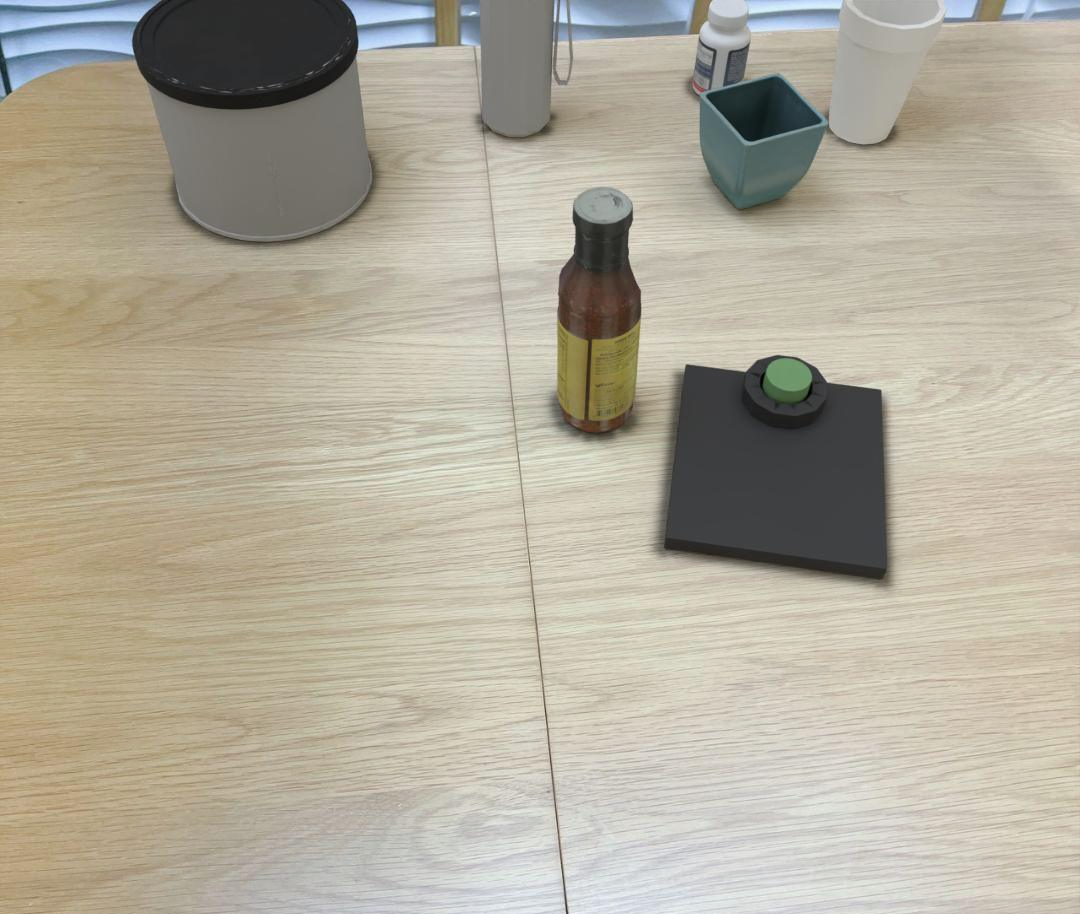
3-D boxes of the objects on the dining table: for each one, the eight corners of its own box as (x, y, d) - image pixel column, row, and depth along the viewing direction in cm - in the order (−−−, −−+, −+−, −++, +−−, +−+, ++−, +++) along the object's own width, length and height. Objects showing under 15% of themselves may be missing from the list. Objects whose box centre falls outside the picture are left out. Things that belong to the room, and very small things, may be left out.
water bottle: (471, 137, 110) (463, -132, 90) (490, 94, 115) (487, -172, 94) (560, 151, 109) (572, -118, 89) (576, 107, 114) (591, -158, 93)
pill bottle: (743, 77, 118) (758, -4, 110) (739, 105, 114) (755, 23, 107) (693, 72, 118) (705, -10, 111) (689, 99, 115) (701, 17, 108)
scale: (876, 394, 90) (886, 368, 88) (882, 579, 80) (894, 556, 77) (684, 369, 92) (688, 343, 89) (663, 548, 81) (668, 524, 78)
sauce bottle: (641, 390, 90) (669, 186, 74) (621, 445, 87) (646, 243, 70) (565, 372, 91) (577, 167, 75) (542, 425, 88) (549, 222, 72)
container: (237, 271, 98) (198, 120, 85) (140, 167, 106) (93, 16, 94) (412, 192, 105) (399, 43, 92) (308, 101, 113) (284, -47, 101)
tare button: (808, 375, 88) (812, 361, 87) (807, 407, 86) (811, 393, 85) (763, 369, 88) (767, 355, 87) (761, 401, 86) (765, 387, 85)
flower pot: (729, 228, 103) (746, 144, 95) (684, 175, 107) (697, 91, 100) (809, 206, 105) (831, 122, 98) (761, 155, 110) (779, 71, 102)
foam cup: (886, 97, 116) (924, -26, 106) (919, 148, 111) (962, 24, 100) (801, 104, 115) (830, -20, 104) (829, 156, 110) (863, 31, 99)
